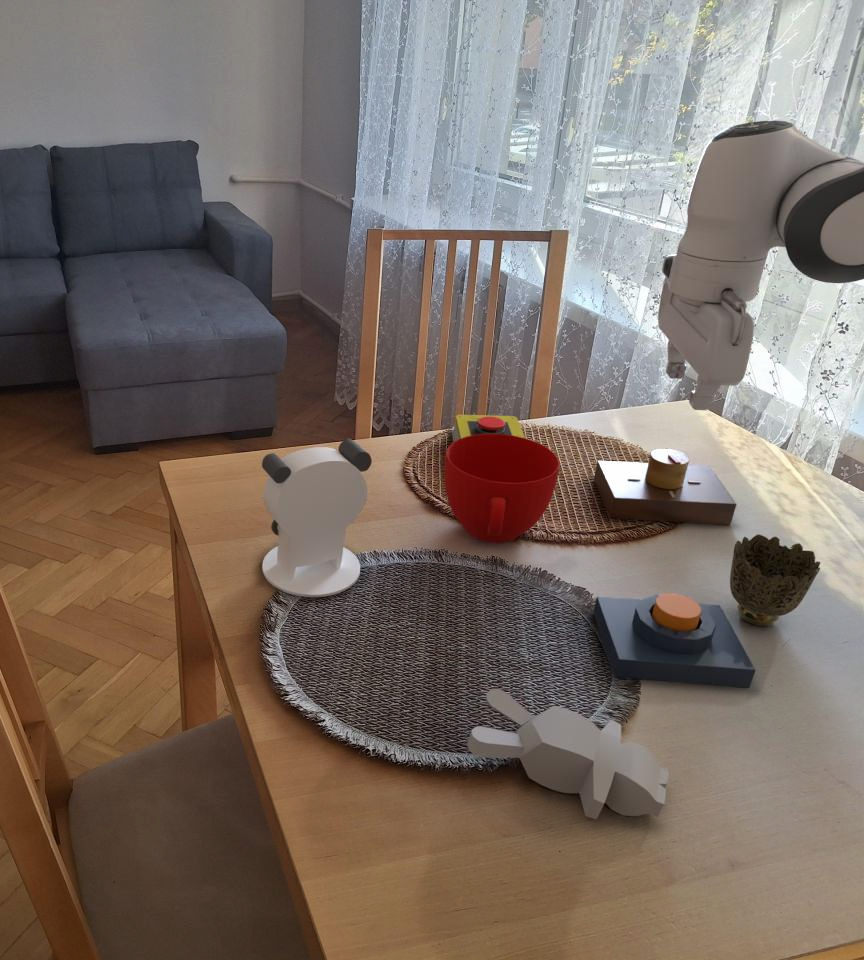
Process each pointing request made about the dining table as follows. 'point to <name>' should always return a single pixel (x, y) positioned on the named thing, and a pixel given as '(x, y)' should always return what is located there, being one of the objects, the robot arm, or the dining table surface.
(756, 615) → the cup
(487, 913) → the dining table surface
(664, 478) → the dimmer knob
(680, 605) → the light button
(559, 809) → the dining table surface
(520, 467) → the ceramic cup
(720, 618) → the switch box
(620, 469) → the dimmer panel
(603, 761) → the bunny figurine
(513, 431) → the emergency button
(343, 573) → the panda figurine
